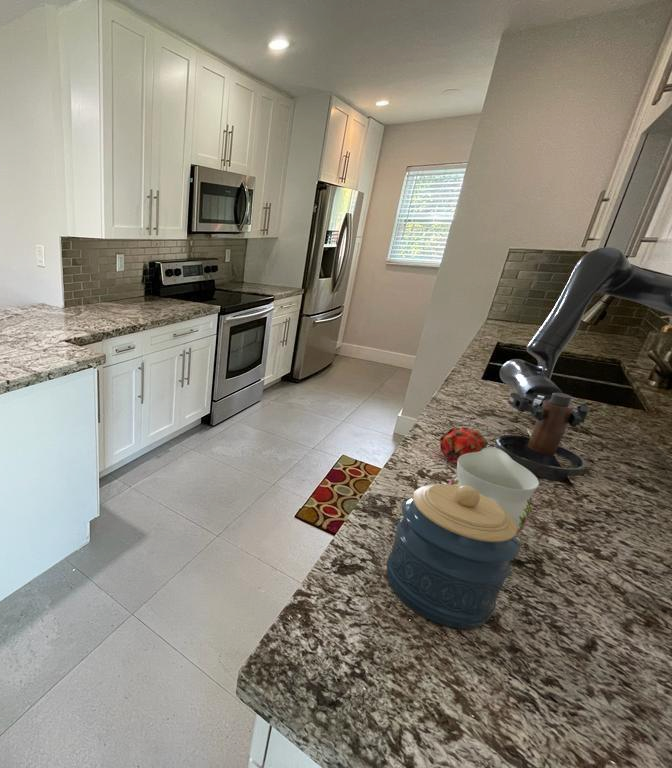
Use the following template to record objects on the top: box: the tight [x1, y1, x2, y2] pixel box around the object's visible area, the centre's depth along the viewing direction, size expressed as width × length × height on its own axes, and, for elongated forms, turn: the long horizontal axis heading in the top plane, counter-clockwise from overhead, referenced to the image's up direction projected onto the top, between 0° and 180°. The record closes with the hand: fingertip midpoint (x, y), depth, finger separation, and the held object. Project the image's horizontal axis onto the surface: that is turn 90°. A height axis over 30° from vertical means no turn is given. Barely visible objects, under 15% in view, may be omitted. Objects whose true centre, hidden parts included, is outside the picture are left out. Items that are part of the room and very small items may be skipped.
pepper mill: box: [527, 392, 575, 455], centre depth 89 cm, size 5×5×13 cm
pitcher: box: [447, 446, 540, 538], centre depth 67 cm, size 11×18×14 cm, turn 144°
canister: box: [386, 483, 520, 630], centre depth 56 cm, size 13×13×18 cm
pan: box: [493, 434, 588, 482], centre depth 92 cm, size 15×15×4 cm
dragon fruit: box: [438, 426, 489, 464], centre depth 92 cm, size 8×8×12 cm
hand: (558, 419), depth 86 cm, fingers closed on pepper mill, 5 cm apart
